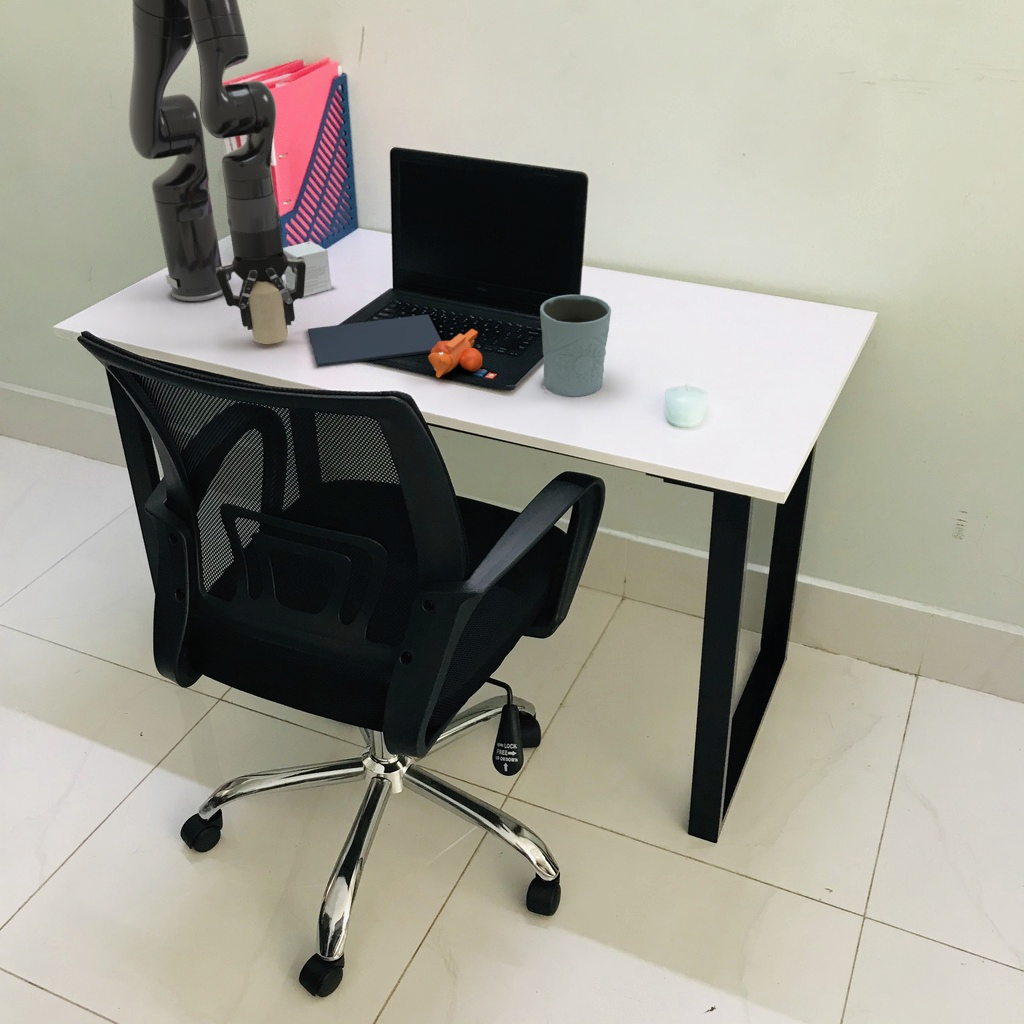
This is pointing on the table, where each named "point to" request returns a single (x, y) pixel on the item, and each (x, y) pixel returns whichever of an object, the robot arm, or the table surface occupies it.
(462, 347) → the orange toy bird
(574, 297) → the grey green cup
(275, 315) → the candle
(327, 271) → the product box
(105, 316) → the table surface
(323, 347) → the desk mat
